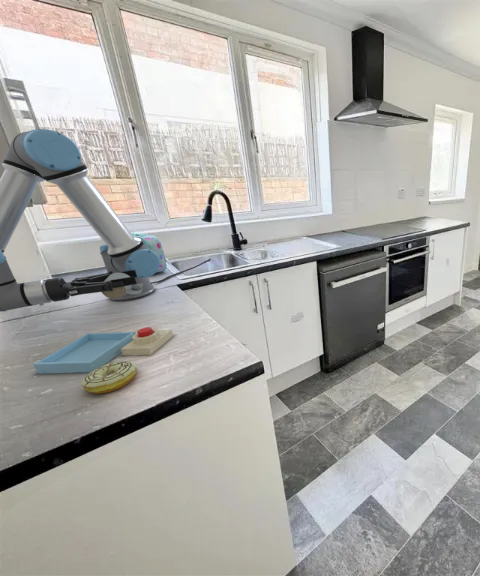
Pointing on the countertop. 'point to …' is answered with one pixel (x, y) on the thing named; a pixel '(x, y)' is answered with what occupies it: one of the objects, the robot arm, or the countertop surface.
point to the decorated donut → (109, 377)
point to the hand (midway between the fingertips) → (135, 276)
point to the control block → (147, 343)
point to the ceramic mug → (123, 290)
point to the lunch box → (153, 248)
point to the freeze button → (145, 332)
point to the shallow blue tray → (85, 353)
